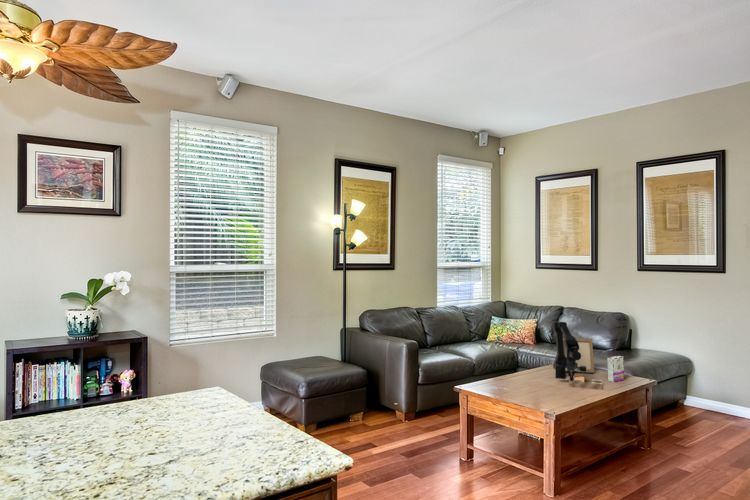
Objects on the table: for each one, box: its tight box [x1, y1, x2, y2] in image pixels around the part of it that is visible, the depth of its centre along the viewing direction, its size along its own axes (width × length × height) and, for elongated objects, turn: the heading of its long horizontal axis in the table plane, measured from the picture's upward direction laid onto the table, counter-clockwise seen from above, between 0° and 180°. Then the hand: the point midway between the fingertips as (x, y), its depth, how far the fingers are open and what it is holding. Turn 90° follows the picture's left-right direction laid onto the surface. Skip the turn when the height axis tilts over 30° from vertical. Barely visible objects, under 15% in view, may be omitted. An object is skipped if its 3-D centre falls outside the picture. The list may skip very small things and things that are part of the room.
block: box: [573, 374, 585, 382], centre depth 336 cm, size 6×6×5 cm
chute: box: [568, 377, 603, 390], centre depth 334 cm, size 20×10×4 cm, turn 66°
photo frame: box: [563, 337, 595, 374], centre depth 379 cm, size 15×22×25 cm
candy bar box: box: [606, 355, 625, 383], centre depth 349 cm, size 11×5×16 cm, turn 117°
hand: (571, 380), depth 338 cm, fingers closed
